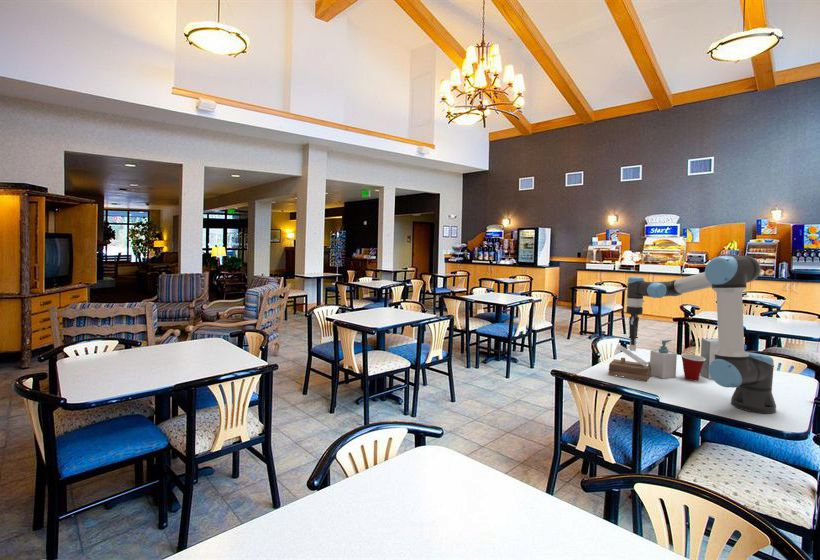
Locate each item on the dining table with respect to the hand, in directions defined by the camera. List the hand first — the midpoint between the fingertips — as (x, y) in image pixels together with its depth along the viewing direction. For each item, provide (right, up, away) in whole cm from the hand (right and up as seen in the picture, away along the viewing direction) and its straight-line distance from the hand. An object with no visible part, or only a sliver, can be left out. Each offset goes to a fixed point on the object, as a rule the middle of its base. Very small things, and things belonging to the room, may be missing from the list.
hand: (632, 350), depth 229 cm
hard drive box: (+44, -14, -2) cm, 46 cm away
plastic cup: (+28, -14, -5) cm, 32 cm away
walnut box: (-1, -13, +2) cm, 14 cm away
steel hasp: (0, -3, 0) cm, 3 cm away
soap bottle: (+16, -14, +1) cm, 21 cm away
